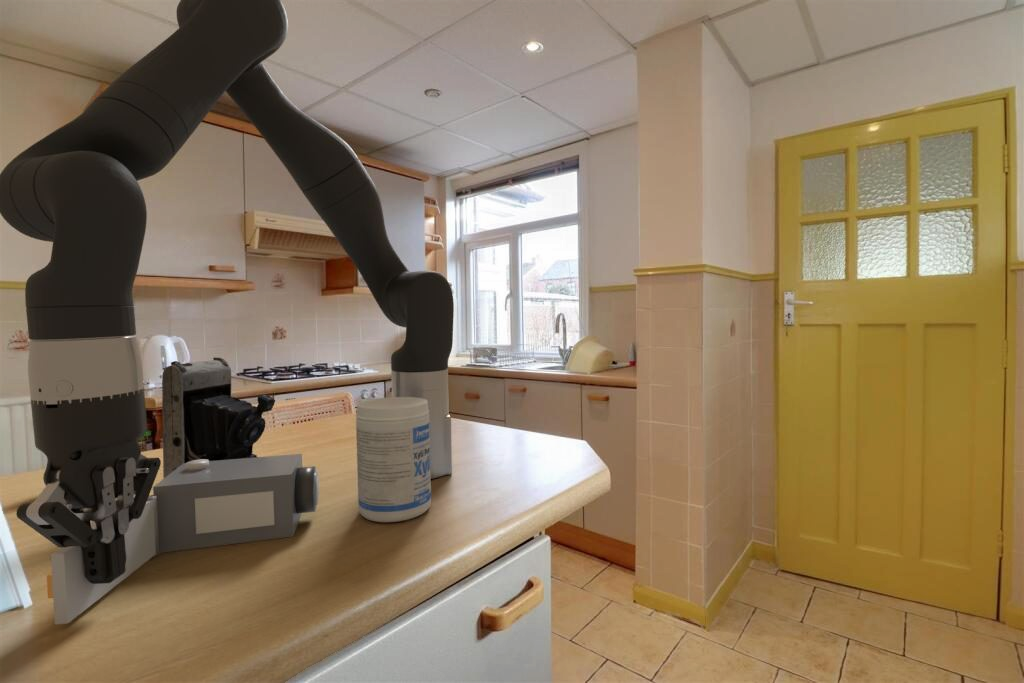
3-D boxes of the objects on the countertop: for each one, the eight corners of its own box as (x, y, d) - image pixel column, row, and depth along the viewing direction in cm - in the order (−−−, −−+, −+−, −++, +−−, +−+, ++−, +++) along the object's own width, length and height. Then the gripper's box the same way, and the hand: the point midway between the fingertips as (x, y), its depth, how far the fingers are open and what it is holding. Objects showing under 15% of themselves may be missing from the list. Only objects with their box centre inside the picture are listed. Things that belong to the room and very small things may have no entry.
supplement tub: (433, 521, 62) (431, 406, 61) (355, 529, 60) (352, 410, 59) (429, 494, 71) (427, 394, 70) (361, 500, 69) (358, 397, 68)
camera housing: (321, 505, 67) (319, 446, 66) (313, 534, 58) (311, 466, 58) (186, 520, 62) (183, 457, 62) (155, 554, 54) (152, 480, 53)
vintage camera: (253, 510, 67) (254, 366, 66) (159, 498, 70) (159, 360, 69) (298, 487, 76) (299, 361, 75) (213, 477, 79) (214, 356, 78)
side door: (69, 625, 41) (64, 551, 40) (44, 627, 41) (39, 552, 40) (162, 551, 54) (159, 494, 53) (143, 552, 53) (140, 495, 53)
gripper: (107, 379, 49) (122, 545, 50) (-37, 405, 36) (-13, 629, 37) (182, 377, 49) (195, 542, 51) (66, 402, 36) (87, 625, 37)
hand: (107, 579), depth 44 cm, fingers closed
